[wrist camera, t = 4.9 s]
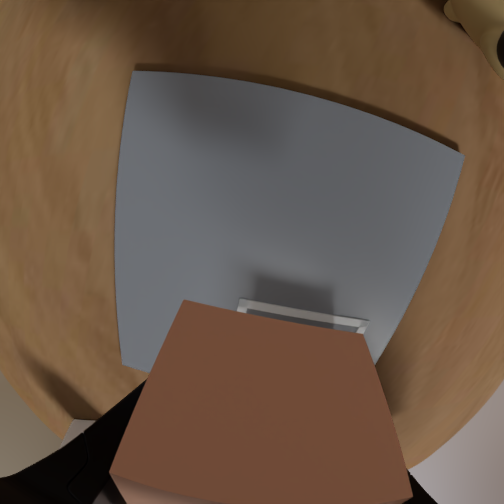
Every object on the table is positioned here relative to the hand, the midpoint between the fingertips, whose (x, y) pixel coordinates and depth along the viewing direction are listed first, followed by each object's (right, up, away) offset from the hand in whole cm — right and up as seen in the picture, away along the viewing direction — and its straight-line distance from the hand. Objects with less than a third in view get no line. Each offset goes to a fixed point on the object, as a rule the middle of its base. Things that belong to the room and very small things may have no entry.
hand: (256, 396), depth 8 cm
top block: (0, 0, +1) cm, 1 cm away
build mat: (+1, +3, +10) cm, 11 cm away
